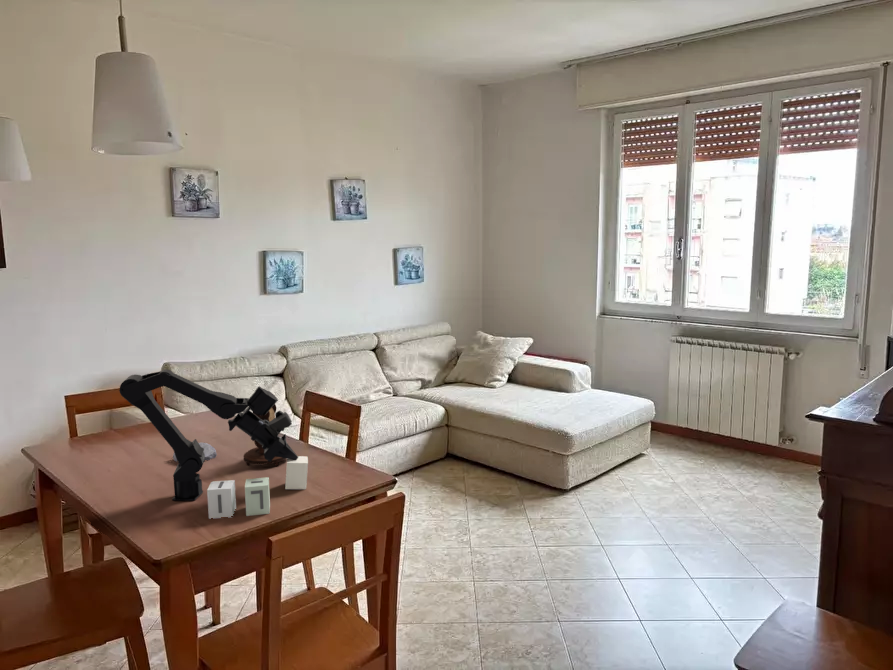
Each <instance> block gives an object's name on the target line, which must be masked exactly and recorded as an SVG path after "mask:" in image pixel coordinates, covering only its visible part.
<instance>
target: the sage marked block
mask: <svg viewBox="0 0 893 670" xmlns="http://www.w3.org/2000/svg"><path fill="white" fill-rule="evenodd" d="M244 498H245V499H244V500H245V515H246V517H249V516H259V515H268V514H270V513H271V512H270V511H271V500H270V499H271V498H270V478H269V476H268V477H267V476H266V477H257V478H246V479H245V484H244Z"/></svg>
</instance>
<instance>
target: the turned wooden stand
mask: <svg viewBox="0 0 893 670" xmlns="http://www.w3.org/2000/svg"><path fill="white" fill-rule="evenodd" d="M276 412H277V405H276V403H275V404H274V406H273V407H272V408H271V409H270V410H269V411H268V412H267V414H266V415H262V416H261V415H260V416H258V415H256V414H255V413H254V412H253V411H252V413H254V414H255V415H256V416H258V417H259V418H260V419H262V420H268V421H269V422H270V421H272V420H273V419H274V418H276V416H275V413H276ZM253 442H254V444H255V447H253V448H251V449H249V450H248V451H246V452H244V454H243V461H244V462H245V463H246V466H247V465H251V464H252V465H270V464H271V465H272V464H274V466H275V467H277V466H278V465H279V462H283V461H285V460H287V458H282V457H276V456H275V457H274V458H273V460H272V461H271V462H269V461H268V460H266V459H265V457H264V450H265V449H263V448H262V445H261V444H260V443H258V442H257V441H256V440H254V441H253Z"/></svg>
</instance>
